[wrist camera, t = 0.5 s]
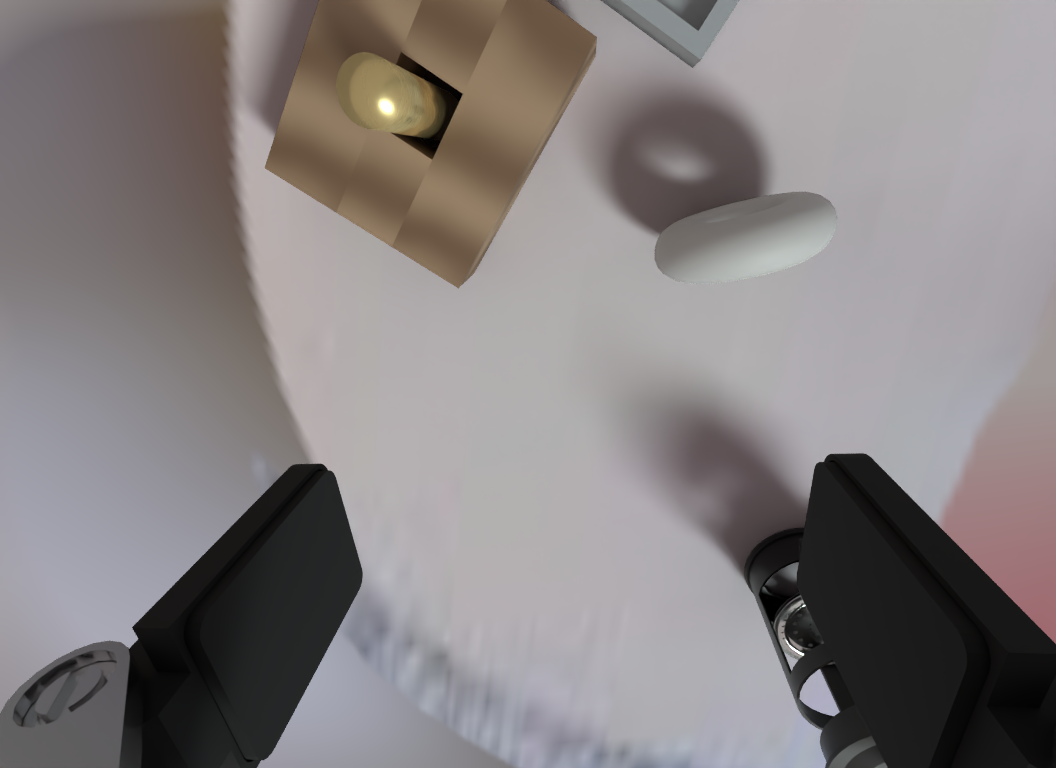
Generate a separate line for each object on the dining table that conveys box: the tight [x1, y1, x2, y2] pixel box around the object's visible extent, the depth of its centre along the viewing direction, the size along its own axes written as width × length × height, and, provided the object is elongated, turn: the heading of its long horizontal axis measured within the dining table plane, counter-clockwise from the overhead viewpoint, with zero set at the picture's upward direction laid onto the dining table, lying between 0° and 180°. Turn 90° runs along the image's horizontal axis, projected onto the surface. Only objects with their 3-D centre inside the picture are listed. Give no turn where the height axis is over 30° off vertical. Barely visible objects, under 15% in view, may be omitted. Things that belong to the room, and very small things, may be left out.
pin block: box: [265, 0, 597, 288], centre depth 31 cm, size 16×14×5 cm
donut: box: [655, 192, 837, 284], centre depth 29 cm, size 10×4×10 cm, turn 106°
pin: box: [336, 52, 459, 140], centre depth 28 cm, size 3×3×12 cm
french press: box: [745, 528, 888, 768], centre depth 34 cm, size 12×9×23 cm
